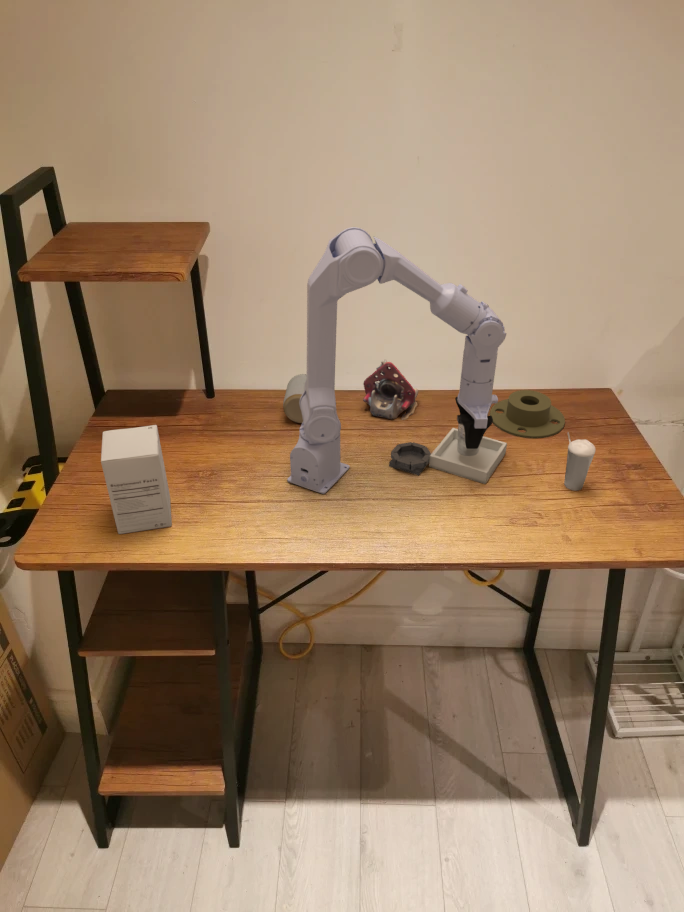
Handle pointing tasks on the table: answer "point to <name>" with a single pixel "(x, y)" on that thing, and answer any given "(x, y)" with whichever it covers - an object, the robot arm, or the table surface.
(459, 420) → the silver cylinder with bar
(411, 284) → the robot arm
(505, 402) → the flange
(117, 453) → the supplement box
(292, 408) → the ceramic mug
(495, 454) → the bin
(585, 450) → the milkshake
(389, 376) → the brake caliper
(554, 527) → the table surface
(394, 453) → the stud mount
